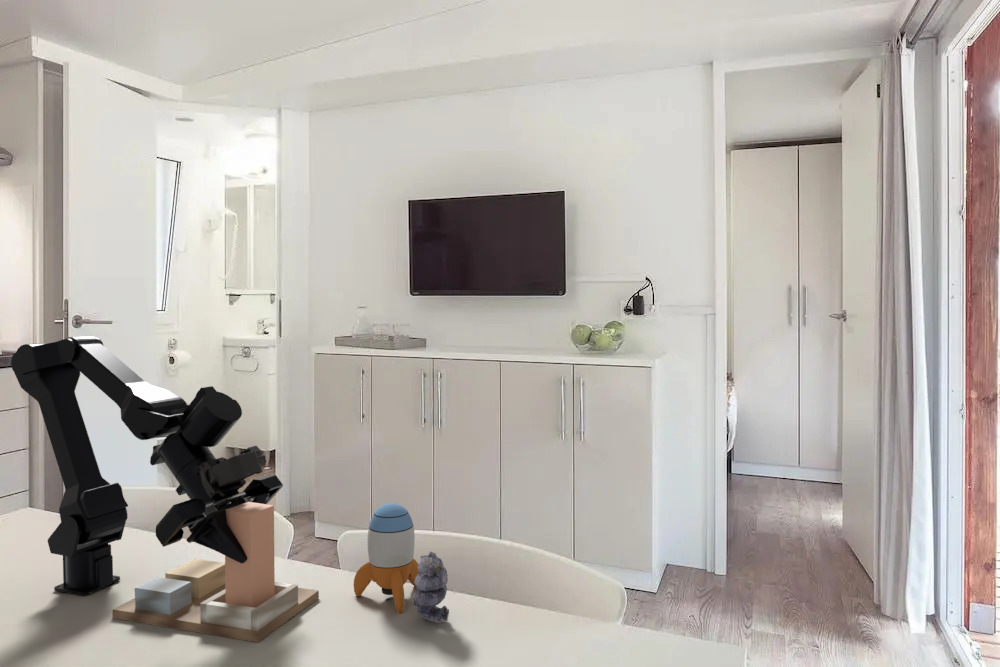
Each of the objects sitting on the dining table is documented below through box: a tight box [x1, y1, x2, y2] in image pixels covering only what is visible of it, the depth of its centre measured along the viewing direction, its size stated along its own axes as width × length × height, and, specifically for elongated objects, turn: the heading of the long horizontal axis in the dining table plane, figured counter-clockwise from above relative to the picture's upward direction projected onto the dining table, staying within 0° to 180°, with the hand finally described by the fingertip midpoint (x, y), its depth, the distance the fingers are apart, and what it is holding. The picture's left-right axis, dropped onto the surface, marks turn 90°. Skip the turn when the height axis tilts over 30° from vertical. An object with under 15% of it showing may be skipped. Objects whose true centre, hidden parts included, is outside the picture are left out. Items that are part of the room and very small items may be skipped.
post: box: [224, 502, 276, 608], centre depth 93 cm, size 4×4×13 cm
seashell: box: [411, 551, 450, 624], centre depth 92 cm, size 5×5×10 cm
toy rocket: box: [353, 502, 419, 614], centre depth 100 cm, size 10×11×15 cm
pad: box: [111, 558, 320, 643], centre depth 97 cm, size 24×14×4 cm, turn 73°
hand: (257, 555), depth 93 cm, fingers closed on post, 4 cm apart
